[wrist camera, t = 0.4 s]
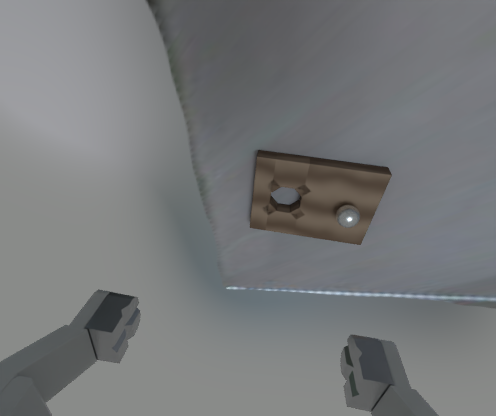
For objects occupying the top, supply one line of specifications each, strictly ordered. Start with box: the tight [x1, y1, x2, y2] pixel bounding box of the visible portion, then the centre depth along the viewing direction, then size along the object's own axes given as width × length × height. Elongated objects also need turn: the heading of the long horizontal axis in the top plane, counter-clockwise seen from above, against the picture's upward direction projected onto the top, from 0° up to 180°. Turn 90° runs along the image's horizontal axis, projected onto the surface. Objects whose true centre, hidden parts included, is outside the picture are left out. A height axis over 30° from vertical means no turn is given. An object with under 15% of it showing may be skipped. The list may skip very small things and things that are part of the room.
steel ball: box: [336, 205, 360, 228], centre depth 50 cm, size 4×4×4 cm
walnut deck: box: [250, 150, 392, 245], centre depth 53 cm, size 16×22×2 cm
